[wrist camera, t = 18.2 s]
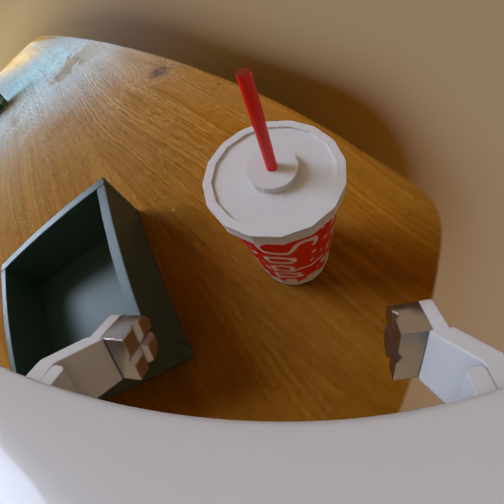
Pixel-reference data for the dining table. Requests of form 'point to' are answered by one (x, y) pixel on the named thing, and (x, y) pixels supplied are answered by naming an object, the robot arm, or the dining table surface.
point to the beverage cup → (277, 190)
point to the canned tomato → (2, 103)
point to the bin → (87, 284)
